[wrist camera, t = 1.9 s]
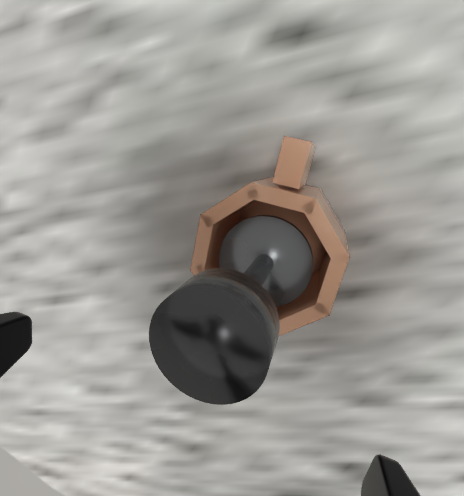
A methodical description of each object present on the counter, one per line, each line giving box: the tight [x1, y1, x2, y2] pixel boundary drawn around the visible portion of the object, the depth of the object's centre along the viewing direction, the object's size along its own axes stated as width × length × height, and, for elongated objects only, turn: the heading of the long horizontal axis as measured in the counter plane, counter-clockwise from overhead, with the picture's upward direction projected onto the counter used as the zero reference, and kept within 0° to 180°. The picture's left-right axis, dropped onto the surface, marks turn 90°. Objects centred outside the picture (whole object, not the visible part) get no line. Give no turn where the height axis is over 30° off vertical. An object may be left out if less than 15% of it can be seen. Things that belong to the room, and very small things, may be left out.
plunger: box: [149, 215, 313, 404], centre depth 11 cm, size 4×4×8 cm
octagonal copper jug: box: [190, 136, 350, 336], centre depth 17 cm, size 7×9×6 cm
